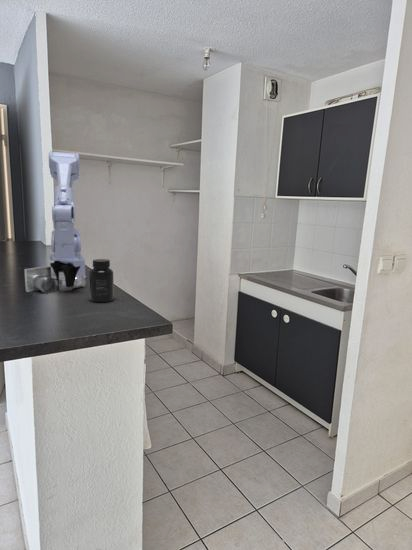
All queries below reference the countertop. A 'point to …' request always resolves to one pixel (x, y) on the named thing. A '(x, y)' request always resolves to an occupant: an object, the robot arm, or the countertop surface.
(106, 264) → the supplement bottle
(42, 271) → the duct stub
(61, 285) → the elbow
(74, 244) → the robot arm
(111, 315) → the countertop surface
